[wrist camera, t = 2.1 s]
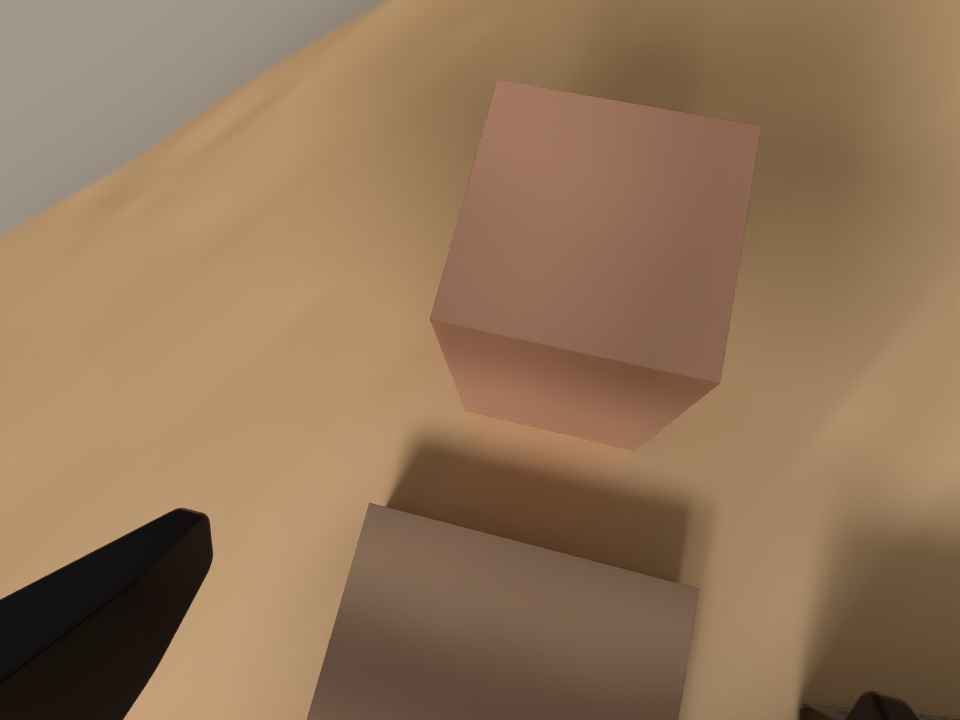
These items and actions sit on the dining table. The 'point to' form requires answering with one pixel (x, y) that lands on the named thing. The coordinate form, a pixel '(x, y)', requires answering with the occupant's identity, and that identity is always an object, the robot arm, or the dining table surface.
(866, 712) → the robot arm
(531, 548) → the walnut block
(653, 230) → the reddish brown block
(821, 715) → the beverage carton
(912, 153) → the dining table surface
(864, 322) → the dining table surface
